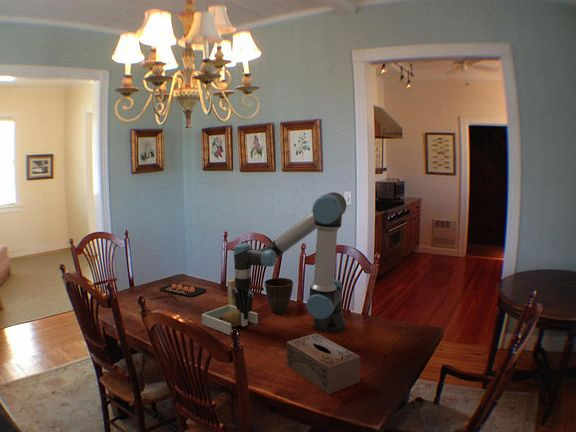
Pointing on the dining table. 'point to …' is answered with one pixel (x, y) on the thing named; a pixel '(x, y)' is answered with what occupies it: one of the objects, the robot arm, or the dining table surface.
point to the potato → (232, 318)
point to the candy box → (231, 292)
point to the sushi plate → (192, 290)
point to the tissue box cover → (323, 362)
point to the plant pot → (279, 294)
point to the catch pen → (213, 321)
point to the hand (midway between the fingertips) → (244, 325)
